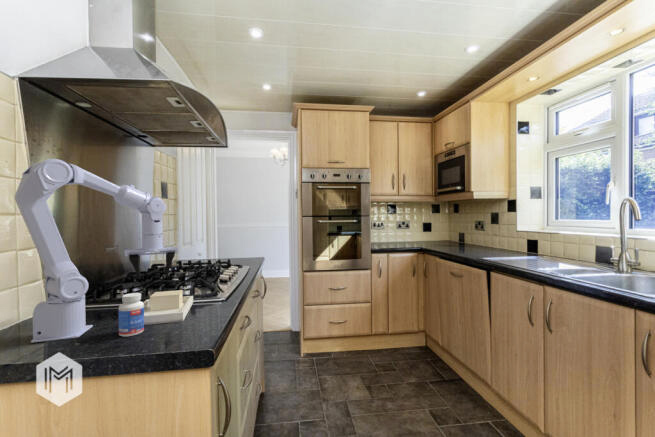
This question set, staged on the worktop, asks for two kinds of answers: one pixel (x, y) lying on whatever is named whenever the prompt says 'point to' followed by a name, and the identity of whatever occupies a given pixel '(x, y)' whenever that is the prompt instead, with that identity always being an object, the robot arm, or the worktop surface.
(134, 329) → the pill bottle
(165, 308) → the egg box
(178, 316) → the white tray
